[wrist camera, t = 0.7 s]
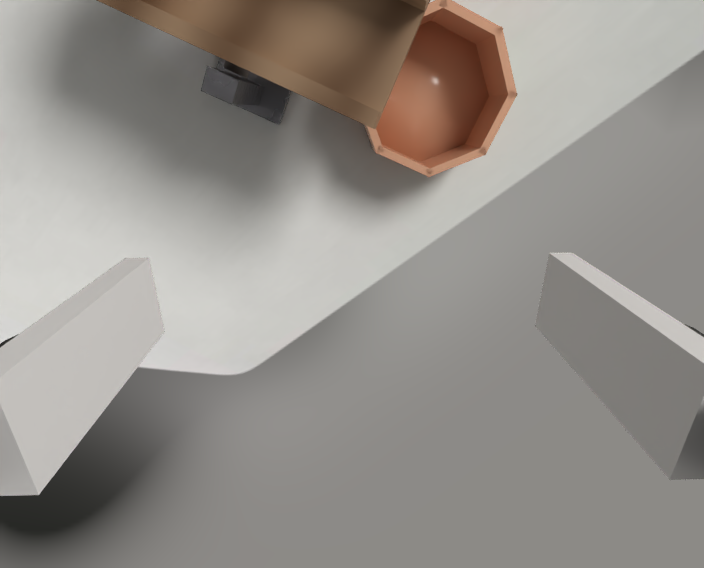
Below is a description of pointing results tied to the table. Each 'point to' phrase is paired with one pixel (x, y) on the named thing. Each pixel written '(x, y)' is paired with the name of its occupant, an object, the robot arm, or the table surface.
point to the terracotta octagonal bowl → (447, 92)
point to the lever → (300, 43)
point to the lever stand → (247, 92)
